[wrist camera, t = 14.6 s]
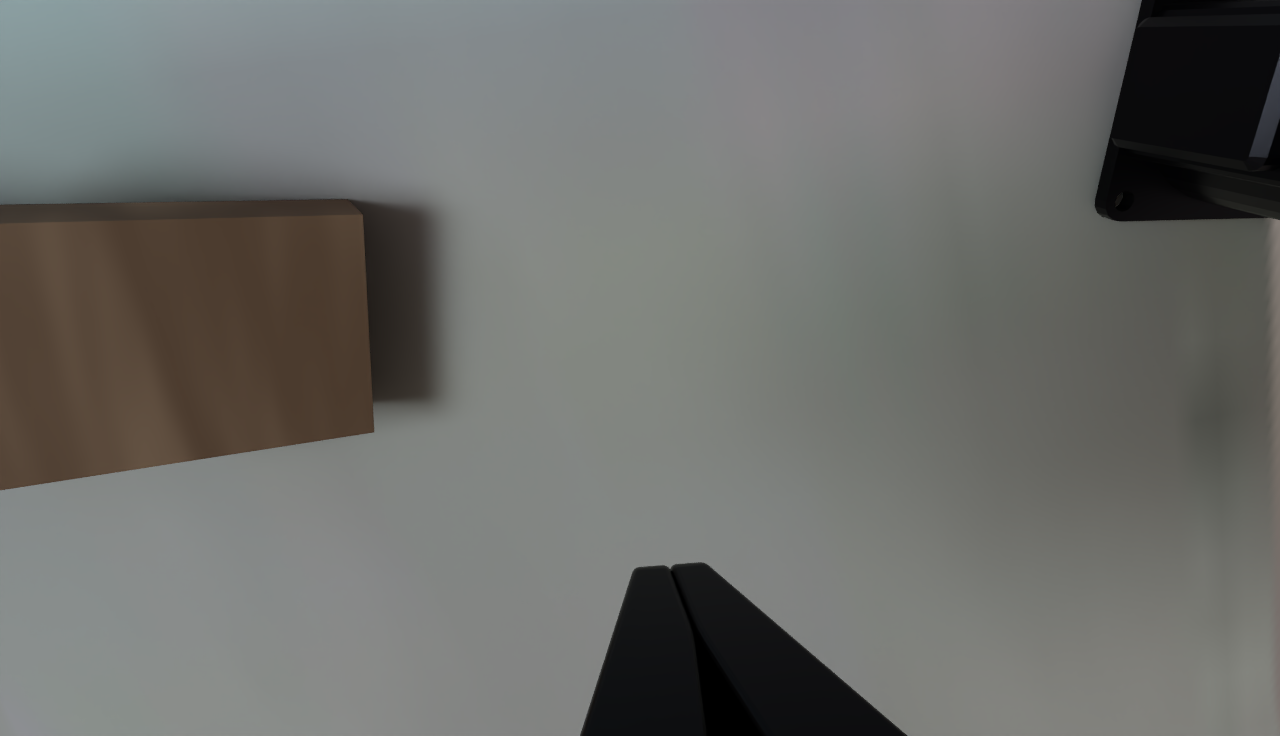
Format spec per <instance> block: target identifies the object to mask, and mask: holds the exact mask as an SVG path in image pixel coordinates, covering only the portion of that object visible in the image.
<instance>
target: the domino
mask: <svg viewBox="0 0 1280 736" xmlns="http://www.w3.org/2000/svg"><path fill="white" fill-rule="evenodd" d="M372 432H374V419H373V400H372V381H371V361H370V342H369V323H368V304H367V285H366V266H365V247H364V227H363V214H362V213H361V212H360V211H359V210H358V209H357V208H356V207H355V206H354V205H353V204H352V203H351V202H350V201H349V200H348V199H334V200H270V201H207V202H143V203H79V204H16V205H0V490H5V489H11V488H18V487H24V486H31V485H37V484H44V483H50V482H57V481H63V480H69V479H76V478H82V477H89V476H95V475H102V474H108V473H114V472H121V471H127V470H134V469H140V468H147V467H153V466H160V465H166V464H172V463H179V462H185V461H192V460H198V459H205V458H211V457H218V456H224V455H230V454H237V453H243V452H250V451H256V450H263V449H269V448H275V447H282V446H288V445H295V444H301V443H308V442H314V441H321V440H327V439H333V438H340V437H346V436H353V435H359V434H366V433H372Z"/></svg>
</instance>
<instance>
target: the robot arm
mask: <svg viewBox="0 0 1280 736" xmlns="http://www.w3.org/2000/svg"><path fill="white" fill-rule="evenodd" d="M1121 193H1123V198H1122V200H1121V202H1120V204H1119V205H1117V206H1116V207H1115V200H1116V198H1117V196H1118V195H1119V194H1121ZM1095 208H1096V210H1097V213H1098V214H1100V215H1101V216H1102V217H1105V218H1108V219H1111V220H1116V221H1152V220H1192V219H1233V218H1273V219H1278V220H1280V0H1142V3H1141V7H1140V11H1139V15H1138V20H1137V24H1136V28H1135V32H1134V36H1133V41H1132V45H1131V49H1130V53H1129V58H1128V62H1127V66H1126V70H1125V75H1124V79H1123V83H1122V87H1121V92H1120V96H1119V100H1118V104H1117V109H1116V113H1115V117H1114V121H1113V126H1112V130H1111V134H1110V138H1109V143H1108V147H1107V151H1106V155H1105V159H1104V164H1103V168H1102V172H1101V176H1100V181H1099V185H1098V189H1097V193H1096V198H1095ZM580 736H907V735H906V734H905V733H903V732H902V731H901V730H900V729H899V728H898V727H896V726H895V725H894V724H893V723H892V722H891V721H889V720H888V719H887V718H886V717H885V716H884V715H882V714H881V713H880V712H879V711H878V710H877V709H875V708H874V707H873V706H872V705H871V704H870V703H868V702H867V701H866V700H865V699H864V698H863V697H861V696H860V695H859V694H858V693H857V692H856V691H854V690H853V689H852V688H851V687H850V686H849V685H847V684H846V683H845V682H844V681H843V680H842V679H840V678H839V677H838V676H837V675H836V674H835V673H833V672H832V671H831V670H830V669H829V668H828V667H826V666H825V665H824V664H823V663H822V662H821V661H819V660H818V659H817V658H816V657H815V656H814V655H812V654H811V653H810V652H809V651H808V650H807V649H805V648H804V647H803V646H802V645H801V644H800V643H798V642H797V641H796V640H795V639H794V638H793V637H791V636H790V635H789V634H788V633H787V632H786V631H784V630H783V629H782V628H781V627H780V626H779V625H777V624H776V623H775V622H774V621H773V620H772V619H770V618H769V617H768V616H767V615H766V614H765V613H763V612H762V611H761V610H760V609H759V608H758V607H756V606H755V605H754V604H753V603H752V602H751V601H749V600H748V599H747V598H746V597H745V596H744V595H742V594H741V593H740V592H739V591H738V590H737V589H735V588H734V587H733V586H732V585H731V584H730V583H728V582H727V581H726V580H725V579H724V578H723V577H721V576H720V575H719V574H718V573H717V572H716V571H714V570H713V569H712V568H711V567H710V566H709V565H707V564H705V563H701V562H698V563H686V564H675V565H673V566H672V567H671V569H669V568H668V567H667V566H664V565H660V566H647V567H638V568H636V569H634V571H633V573H632V575H631V579H630V582H629V585H628V588H627V591H626V594H625V597H624V600H623V603H622V607H621V610H620V613H619V616H618V619H617V622H616V625H615V628H614V632H613V635H612V638H611V641H610V644H609V647H608V650H607V653H606V657H605V660H604V663H603V666H602V669H601V672H600V675H599V678H598V681H597V685H596V688H595V691H594V694H593V697H592V700H591V703H590V706H589V710H588V713H587V716H586V719H585V722H584V725H583V728H582V731H581V734H580Z"/></svg>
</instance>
